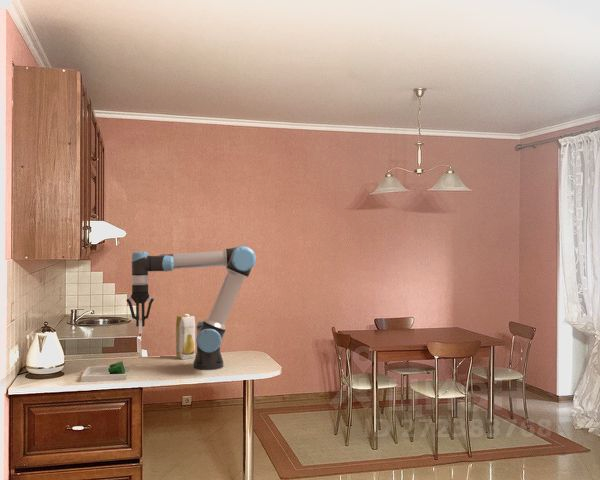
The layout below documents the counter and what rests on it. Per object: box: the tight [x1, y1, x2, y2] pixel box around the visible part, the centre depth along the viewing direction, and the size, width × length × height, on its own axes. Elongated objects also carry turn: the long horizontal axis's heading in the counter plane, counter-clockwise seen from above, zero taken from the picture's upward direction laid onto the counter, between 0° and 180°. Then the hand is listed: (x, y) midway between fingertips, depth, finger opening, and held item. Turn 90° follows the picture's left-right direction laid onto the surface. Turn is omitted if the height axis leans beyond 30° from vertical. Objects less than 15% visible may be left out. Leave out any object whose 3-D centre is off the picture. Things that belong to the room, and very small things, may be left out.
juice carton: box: [175, 313, 196, 360], centre depth 336 cm, size 9×8×24 cm
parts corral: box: [80, 364, 130, 383], centre depth 294 cm, size 20×21×2 cm
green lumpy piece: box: [108, 361, 126, 375], centre depth 293 cm, size 12×6×9 cm, turn 6°
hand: (140, 333), depth 296 cm, fingers closed
